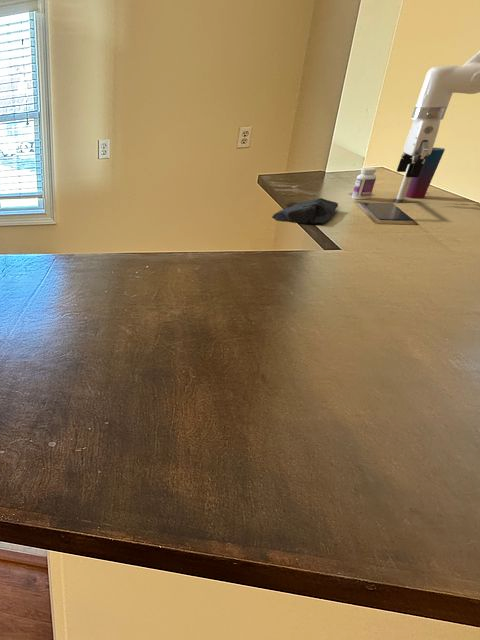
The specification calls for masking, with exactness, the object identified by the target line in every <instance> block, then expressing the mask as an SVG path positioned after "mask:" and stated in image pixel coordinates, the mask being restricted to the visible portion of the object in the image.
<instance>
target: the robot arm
mask: <svg viewBox="0 0 480 640" xmlns="http://www.w3.org/2000/svg"><path fill="white" fill-rule="evenodd" d="M479 93H480V50H479V51H478V52H477V53H475V54H474V55H473V56H472V57H470V59H468V60H466V62H465V63H464V64H463V65H460V66H459V65H438V66H433V67H430V69H428V71H427V72H426V74H425V77H424V80H423V83H422V86H421V89H420V92H419V95H418V98H417V100H416V103H415V107H414V110H413V112H412V115H411V120H412V124H411V126H410V129H409V131H408V134H407V136H406V139H405V142H404V144H403V145H404V146H403V149H402V151H403V153H402V154H401V156H400V160H399V162H398V165H397V169H396V172H397V173H405V172H406V169H407V166H408V164H410V165H409V168H408V171H407V174H406V177H419V175H420V172H421V169H422V166H423V164H424V162H425V158H426V156H428V155H430V154H431V152H432V149H433V148H434V145H435V144H436V143H435V142H436V139H437V136H438V133H439V129H440V125H441V121H442V120H444V117H445V114H446V112H447V110H448V106H449V104H450V101H451V99H452V96H453V94H465V95H466V94H467V95H475V94H479ZM411 120H410V121H411ZM416 157H417V158H416Z"/></svg>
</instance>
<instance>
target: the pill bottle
mask: <svg viewBox="0 0 480 640" xmlns="http://www.w3.org/2000/svg"><path fill="white" fill-rule="evenodd" d="M376 171H377V168H376V167H362V168H361V169H360V174H358V175H357V176H356V180H355V183H354V186H353V190H352V194H351V198H352V199H354V200H369V199H370V198H371V196H372V193H373V190H374V186H375V183H376V179H377V176H376Z"/></svg>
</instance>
